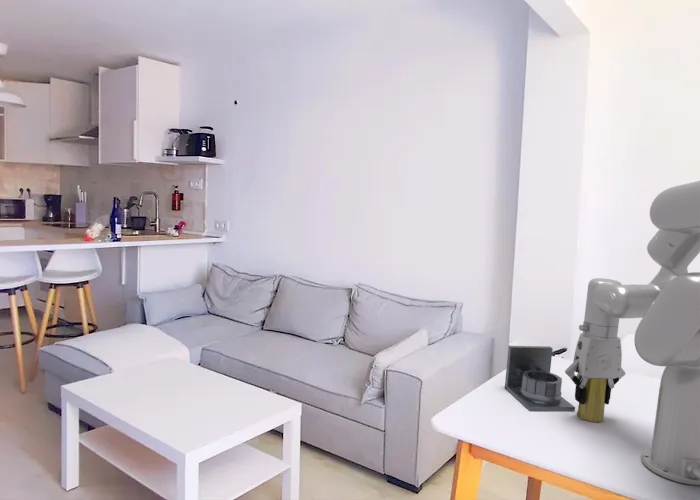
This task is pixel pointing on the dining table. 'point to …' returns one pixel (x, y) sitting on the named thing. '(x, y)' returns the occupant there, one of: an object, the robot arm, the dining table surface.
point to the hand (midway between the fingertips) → (591, 401)
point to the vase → (593, 401)
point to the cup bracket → (534, 379)
